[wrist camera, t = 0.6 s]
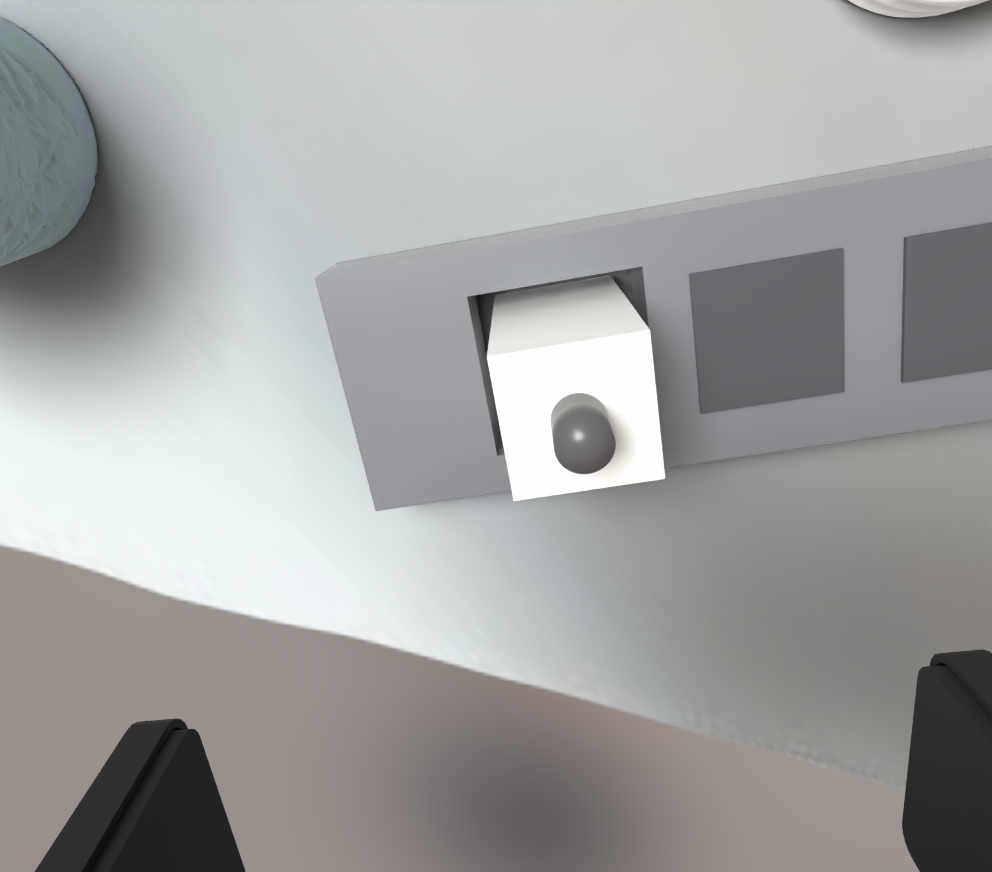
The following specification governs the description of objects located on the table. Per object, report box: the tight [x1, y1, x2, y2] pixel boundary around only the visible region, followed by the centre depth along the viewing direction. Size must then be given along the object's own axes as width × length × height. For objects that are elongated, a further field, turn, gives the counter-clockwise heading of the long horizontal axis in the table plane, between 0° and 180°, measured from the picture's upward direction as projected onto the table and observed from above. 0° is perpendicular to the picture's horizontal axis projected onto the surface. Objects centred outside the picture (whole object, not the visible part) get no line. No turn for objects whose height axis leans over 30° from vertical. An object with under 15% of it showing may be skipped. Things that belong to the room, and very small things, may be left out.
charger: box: [487, 275, 665, 501], centre depth 24 cm, size 4×4×11 cm
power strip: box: [315, 146, 992, 511], centre depth 27 cm, size 28×9×4 cm, turn 100°
